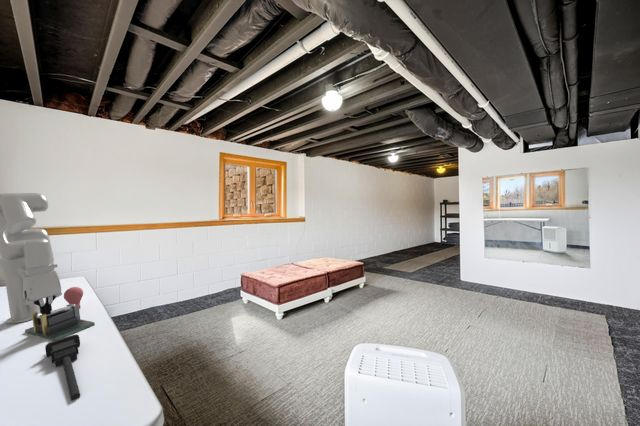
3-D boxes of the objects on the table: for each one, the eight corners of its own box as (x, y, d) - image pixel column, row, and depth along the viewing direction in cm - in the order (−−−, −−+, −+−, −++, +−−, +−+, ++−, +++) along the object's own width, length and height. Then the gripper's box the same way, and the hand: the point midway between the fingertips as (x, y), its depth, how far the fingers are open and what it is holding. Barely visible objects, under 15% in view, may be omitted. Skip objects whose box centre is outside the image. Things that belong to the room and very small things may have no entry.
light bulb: (73, 314, 128) (70, 289, 127) (62, 313, 129) (58, 289, 128) (89, 307, 135) (86, 284, 134) (78, 307, 136) (74, 284, 135)
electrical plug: (78, 341, 100) (77, 329, 100) (98, 395, 72) (96, 378, 72) (46, 352, 94) (44, 339, 93) (53, 416, 66) (51, 398, 66)
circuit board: (25, 332, 111) (22, 311, 111) (64, 318, 123) (61, 299, 122) (55, 340, 102) (51, 317, 101) (94, 324, 114) (91, 304, 113)
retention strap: (36, 318, 107) (36, 315, 107) (73, 306, 118) (72, 303, 118) (40, 319, 106) (40, 315, 106) (76, 307, 117) (76, 304, 117)
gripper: (59, 265, 116) (64, 306, 117) (9, 275, 102) (16, 321, 103) (68, 265, 113) (74, 307, 114) (18, 276, 99) (25, 323, 100)
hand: (46, 314), depth 108 cm, fingers closed
